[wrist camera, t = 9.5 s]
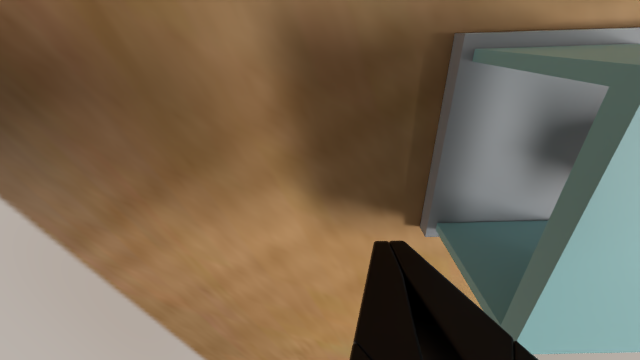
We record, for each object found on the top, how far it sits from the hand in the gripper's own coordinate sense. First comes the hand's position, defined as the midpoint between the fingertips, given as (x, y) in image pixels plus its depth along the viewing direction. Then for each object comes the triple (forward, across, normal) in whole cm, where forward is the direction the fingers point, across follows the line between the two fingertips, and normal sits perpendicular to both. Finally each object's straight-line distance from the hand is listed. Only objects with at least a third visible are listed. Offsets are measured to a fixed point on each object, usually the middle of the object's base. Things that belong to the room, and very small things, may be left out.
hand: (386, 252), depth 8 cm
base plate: (+8, -13, 0) cm, 15 cm away
